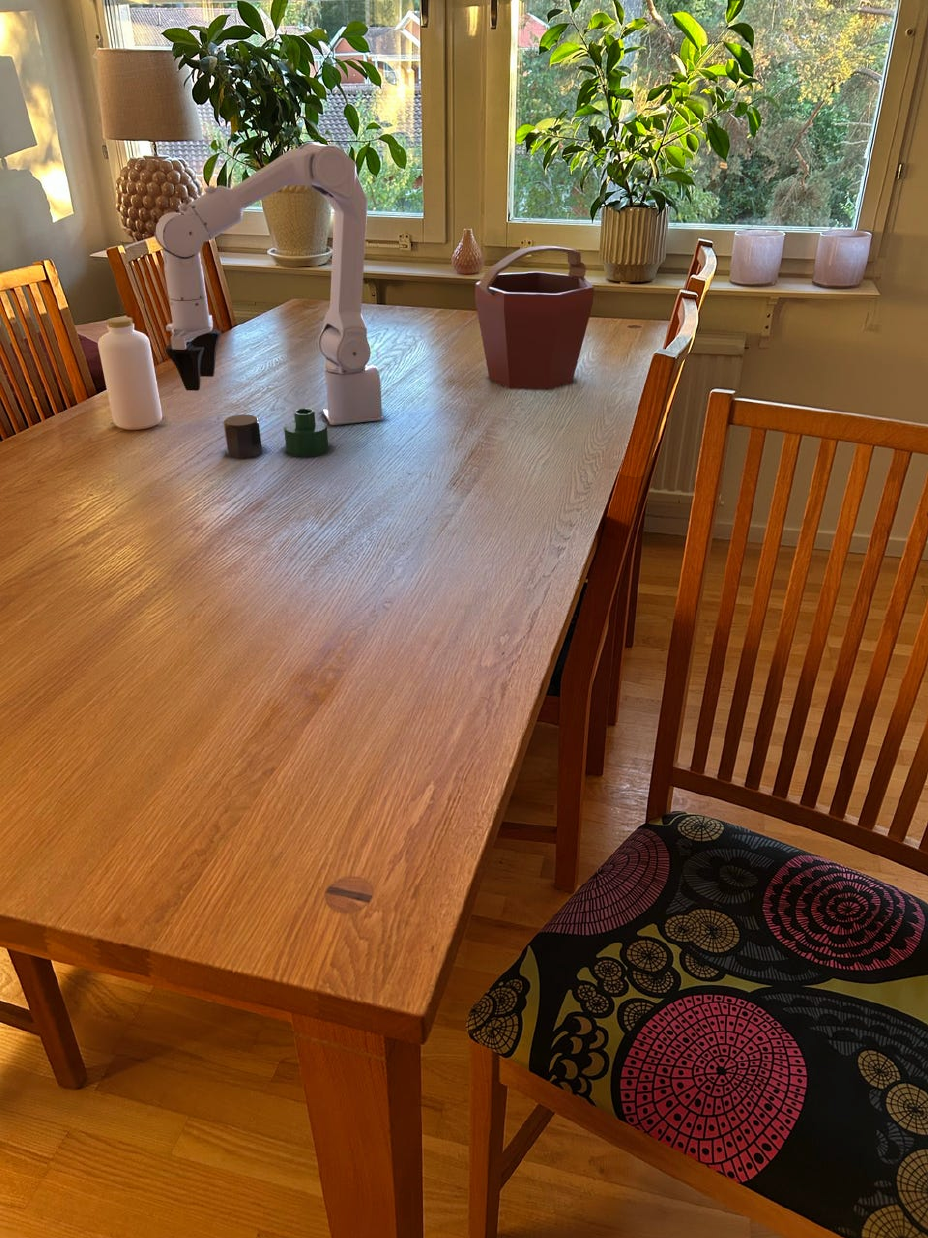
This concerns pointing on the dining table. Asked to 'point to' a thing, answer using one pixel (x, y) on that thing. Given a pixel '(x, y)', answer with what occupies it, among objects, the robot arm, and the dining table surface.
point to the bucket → (533, 321)
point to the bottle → (306, 435)
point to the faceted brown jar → (242, 436)
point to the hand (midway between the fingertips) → (200, 382)
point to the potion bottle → (129, 375)
